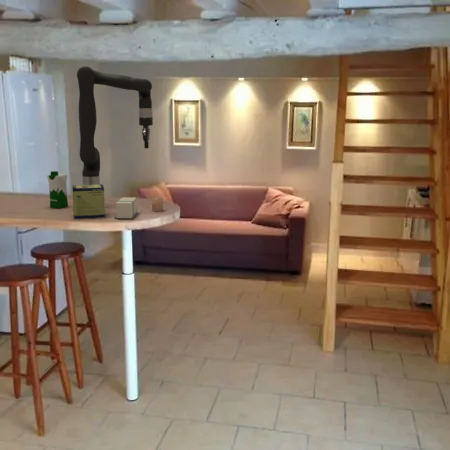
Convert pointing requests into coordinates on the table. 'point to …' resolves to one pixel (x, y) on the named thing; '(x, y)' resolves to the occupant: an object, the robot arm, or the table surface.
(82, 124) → the robot arm
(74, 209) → the protein box
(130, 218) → the mat
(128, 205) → the oat carton
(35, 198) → the table surface
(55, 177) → the milk carton
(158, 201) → the tan small block
